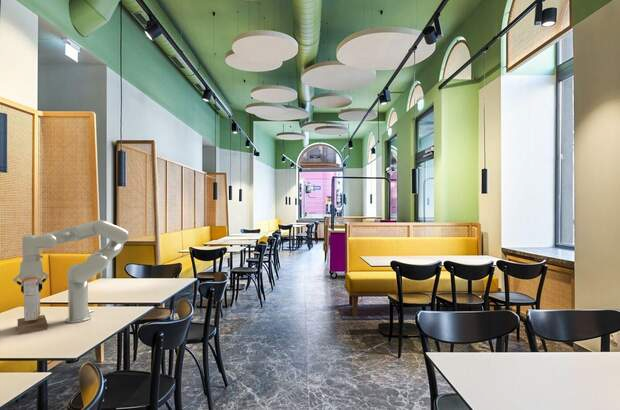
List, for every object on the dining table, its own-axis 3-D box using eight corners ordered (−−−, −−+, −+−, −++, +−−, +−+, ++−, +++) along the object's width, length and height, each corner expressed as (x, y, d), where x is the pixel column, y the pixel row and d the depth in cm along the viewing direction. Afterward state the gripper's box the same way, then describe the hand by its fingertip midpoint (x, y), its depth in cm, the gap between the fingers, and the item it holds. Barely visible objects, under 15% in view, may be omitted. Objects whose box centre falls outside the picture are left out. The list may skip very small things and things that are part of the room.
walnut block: (17, 326, 210) (17, 318, 210) (44, 321, 217) (44, 314, 217) (18, 334, 196) (18, 326, 196) (47, 329, 203) (47, 321, 203)
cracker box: (27, 315, 211) (26, 276, 211) (40, 313, 214) (40, 275, 214) (23, 321, 199) (22, 281, 199) (37, 320, 202) (37, 279, 202)
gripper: (50, 256, 215) (50, 288, 215) (10, 259, 204) (11, 293, 204) (51, 257, 209) (52, 291, 209) (10, 261, 198) (11, 296, 198)
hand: (31, 292), depth 206 cm, fingers closed on cracker box, 6 cm apart
